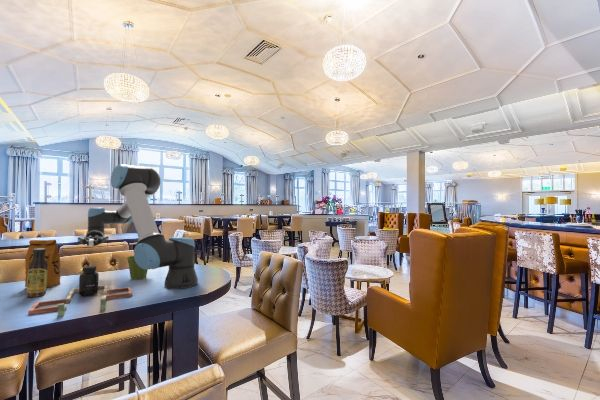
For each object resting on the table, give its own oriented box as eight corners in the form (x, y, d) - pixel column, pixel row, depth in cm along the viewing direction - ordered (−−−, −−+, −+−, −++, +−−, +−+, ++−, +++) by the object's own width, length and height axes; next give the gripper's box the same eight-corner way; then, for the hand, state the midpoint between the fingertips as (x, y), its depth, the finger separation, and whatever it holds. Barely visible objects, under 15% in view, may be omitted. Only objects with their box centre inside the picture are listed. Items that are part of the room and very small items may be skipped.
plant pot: (138, 281, 148) (139, 259, 148) (120, 280, 151) (120, 258, 152) (156, 276, 159) (156, 255, 160) (138, 274, 163) (139, 254, 163)
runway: (44, 295, 125) (44, 286, 125) (130, 285, 141) (130, 277, 141) (22, 322, 97) (23, 309, 97) (133, 305, 114) (133, 294, 114)
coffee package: (50, 288, 135) (51, 240, 136) (20, 289, 134) (21, 241, 134) (64, 282, 145) (65, 238, 146) (36, 283, 144) (37, 238, 144)
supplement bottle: (88, 297, 123) (88, 268, 123) (74, 296, 124) (75, 267, 124) (102, 292, 129) (102, 265, 130) (89, 291, 131) (89, 264, 131)
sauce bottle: (24, 298, 121) (25, 250, 121) (29, 294, 126) (30, 248, 127) (44, 296, 124) (45, 249, 124) (49, 292, 129) (49, 247, 130)
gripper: (109, 244, 156) (107, 250, 136) (78, 246, 149) (72, 252, 129) (109, 230, 156) (108, 234, 136) (79, 231, 149) (72, 235, 129)
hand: (90, 243), depth 133 cm, fingers closed
